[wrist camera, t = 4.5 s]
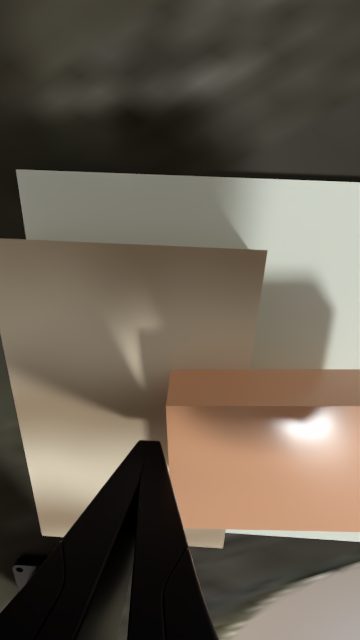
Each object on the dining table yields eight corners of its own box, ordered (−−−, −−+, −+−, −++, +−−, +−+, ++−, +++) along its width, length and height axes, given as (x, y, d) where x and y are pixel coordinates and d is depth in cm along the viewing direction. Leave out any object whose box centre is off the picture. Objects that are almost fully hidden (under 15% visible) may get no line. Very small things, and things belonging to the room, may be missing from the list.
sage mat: (374, 535, 14) (379, 543, 14) (71, 514, 14) (68, 521, 14) (525, 191, 8) (541, 189, 8) (23, 172, 9) (15, 169, 8)
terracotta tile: (366, 475, 9) (411, 533, 7) (175, 473, 10) (171, 528, 8) (396, 369, 8) (463, 406, 6) (170, 370, 8) (165, 406, 6)
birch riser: (216, 495, 13) (222, 548, 11) (67, 485, 14) (42, 535, 11) (247, 250, 9) (267, 250, 7) (33, 241, 9) (-20, 237, 7)
